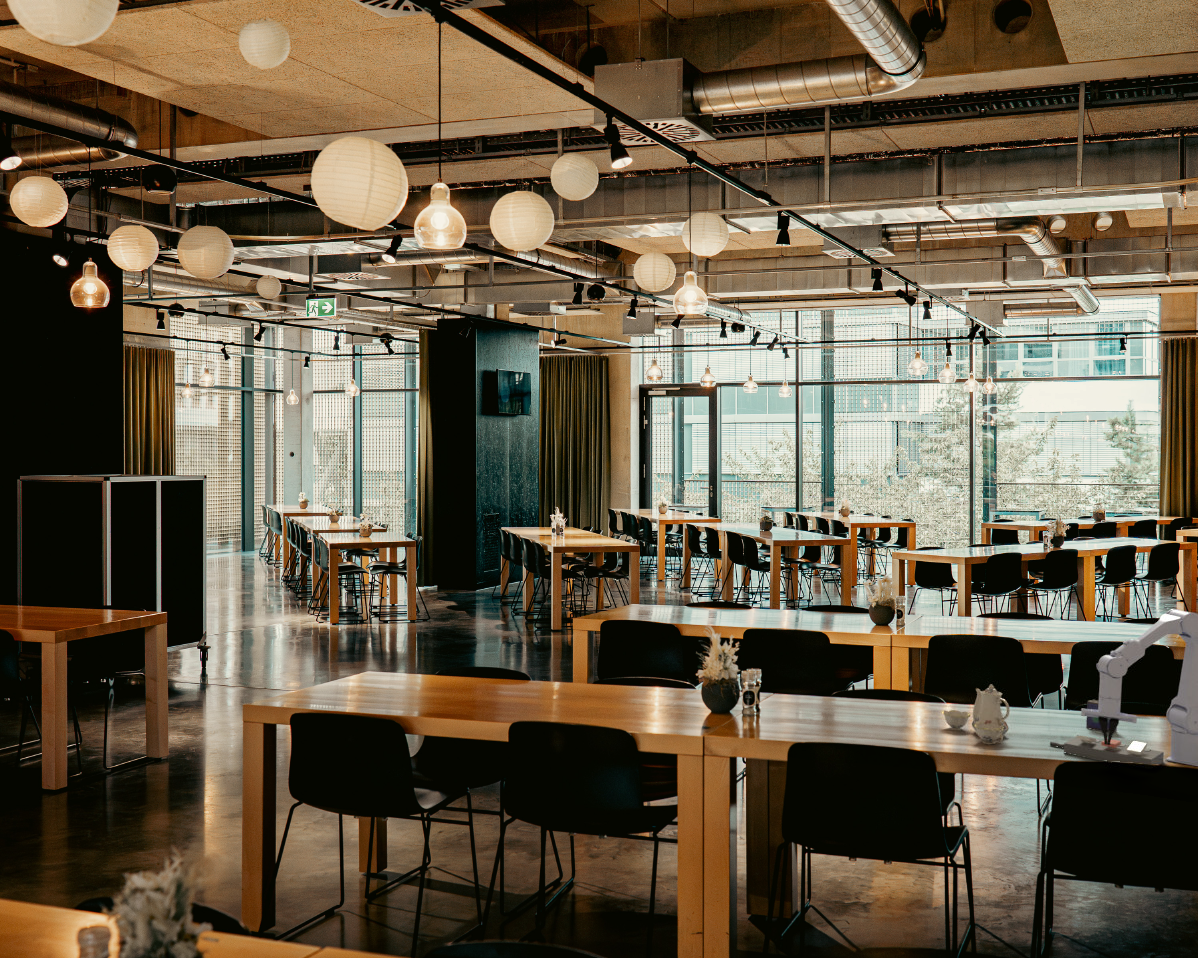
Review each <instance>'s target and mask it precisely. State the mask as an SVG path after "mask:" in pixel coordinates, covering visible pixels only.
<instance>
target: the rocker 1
mask: <svg viewBox="0 0 1198 958" xmlns="http://www.w3.org/2000/svg"><path fill="white" fill-rule="evenodd" d="M1076 737H1077V739H1081V742H1086V743H1091V742H1096V740H1097V739H1096V738H1093V737H1090V736H1085V735H1079V734H1078V735H1076Z"/></svg>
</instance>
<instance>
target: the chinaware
mask: <svg viewBox="0 0 1198 958" xmlns="http://www.w3.org/2000/svg"><path fill="white" fill-rule="evenodd" d="M975 691H976V694H977V695H976V699H975V702H974V704H973V705H974V706H973V708H972V709H973V710H972V719H973V721H972V722H971V726H972V728H973V729H974V731H975V734H976V736H978V737H979V739H980V740H982V743H983V744H985V745H995V744H997V743H1002V742H1003V738H1004V737H1005V734H1006V733H1007V732H1008V731H1009V729H1010V728H1009V725H1008V723H1007V721H1006V719H1008V717H1009V715H1010V712H1011V711H1010V705H1009V703H1008V702H1007V700H1006V699H1004V698H1002V695H1003V693H1002V692H1000V691H998V690H997V689H996V688H995V686H994V685H993V684H989V686H988V687H987V688H986V689H985V690H982V691H981V689H979V688H975ZM1002 703H1004V704H1005V708H1006V713H1005V715H1004V716H1003V713H1002V710H1001V708H1002V707H1001V704H1002ZM942 714H943V716H944V719H945V722H946V724H947V725H949V727H950V728H949V730H953V731H962V728H963V727H964V726H966V724H967V723H968V721H969V718H970V717H971V714H970V712H968V711H963V712H961V711H959V710H956V709H951V710H949V711H948V710H943V711H942ZM998 739H1000V741H998Z"/></svg>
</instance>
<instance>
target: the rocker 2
mask: <svg viewBox="0 0 1198 958" xmlns="http://www.w3.org/2000/svg"><path fill="white" fill-rule="evenodd" d="M1128 746H1129V747H1128V749H1127V753H1132V754H1137V755H1141V754H1142V753H1143V751H1144V750H1145V748H1146V749H1147V747H1148V744H1147V742H1141V741H1135V740H1133V741H1132V742H1131V744H1130V745H1128Z"/></svg>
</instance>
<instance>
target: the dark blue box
mask: <svg viewBox="0 0 1198 958" xmlns="http://www.w3.org/2000/svg"><path fill="white" fill-rule="evenodd" d="M1098 706H1099V700H1096V699H1092V700H1087V703H1086V709H1094V710H1098ZM1104 717H1106V716H1104ZM1111 718H1114V717H1111ZM1109 720H1110V719H1108V726H1107V733H1109ZM1085 722H1086V723H1085V724H1086V729H1088V728H1091V729H1090V730H1093V729H1095V731H1101V732H1102V729H1101V726H1100V724H1099V721H1098V718H1096V717H1089V716H1086V721H1085ZM1117 729H1118V727H1117V728H1116V729H1115V731H1114V732H1115V733H1117V731H1118V730H1117Z"/></svg>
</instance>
